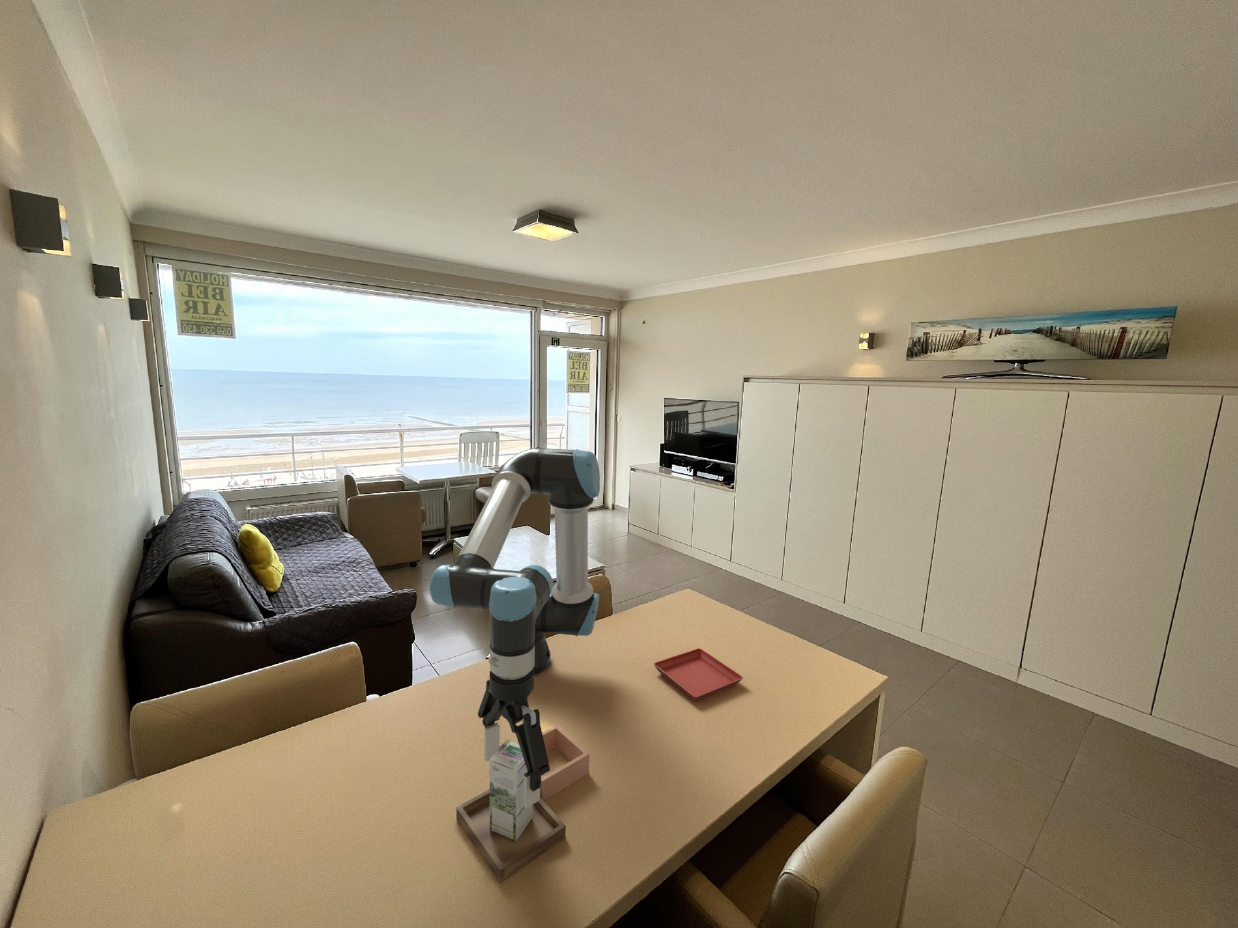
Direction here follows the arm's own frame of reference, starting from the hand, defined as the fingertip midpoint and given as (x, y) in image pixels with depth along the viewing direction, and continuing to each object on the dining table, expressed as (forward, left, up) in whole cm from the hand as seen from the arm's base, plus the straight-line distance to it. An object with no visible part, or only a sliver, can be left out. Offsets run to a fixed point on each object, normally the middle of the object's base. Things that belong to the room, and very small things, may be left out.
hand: (510, 779), depth 90 cm
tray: (0, 0, -10) cm, 10 cm away
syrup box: (0, 0, -9) cm, 9 cm away
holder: (-7, +13, -10) cm, 18 cm away
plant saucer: (-9, +64, -10) cm, 66 cm away
